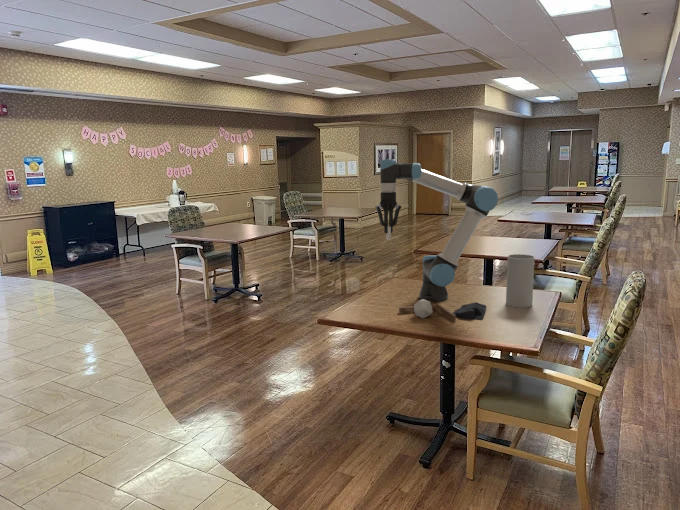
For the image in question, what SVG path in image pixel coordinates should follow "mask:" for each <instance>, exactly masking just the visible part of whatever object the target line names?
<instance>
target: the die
mask: <svg viewBox="0 0 680 510" xmlns="http://www.w3.org/2000/svg"><path fill="white" fill-rule="evenodd" d="M432 305H433V304H432V303H431V301H427V300H425V299H420V300H418V301H416V302H415V303H414V304H413V306H414V312H413V313H414V314H415V315H416V317H419V318H420V319H426V318H427V317H430V316H431V314H433V311H432Z"/></svg>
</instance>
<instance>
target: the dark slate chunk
mask: <svg viewBox="0 0 680 510" xmlns="http://www.w3.org/2000/svg"><path fill="white" fill-rule="evenodd" d="M486 309H487V305H486V304H483V303H479V302H470V303H465V304H462V305H461V306H460V307H459V308H458V309H456V310H454V311H453V312H452V313H453V314H455V315H456V318H458V319H461V320H464V319H465V320H469V321H470V320H471V321H472V320H475V321H477V320H478V321H483V319H484V317H485V314H486V311H487V310H486Z"/></svg>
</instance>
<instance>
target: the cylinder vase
mask: <svg viewBox="0 0 680 510" xmlns="http://www.w3.org/2000/svg"><path fill="white" fill-rule="evenodd" d="M506 266H507V267H506V269H507V270H506V289H505V290H506V291H505V292H506V294H505V305H507V306H508V307H511V308H513V307H514V308H520V309H526V308H530V307H532V306H533V299H534V298H533V296H534V295H533V293H534V274H535V256H534V255H531V254H523V253H522V254H521V253H520V254H519V253H518V254H517V253H516V254H514V253H513V254H508V255H507V265H506Z"/></svg>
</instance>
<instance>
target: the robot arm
mask: <svg viewBox="0 0 680 510" xmlns="http://www.w3.org/2000/svg"><path fill="white" fill-rule="evenodd" d="M379 169H380V172H379V173H380V175H379V176H380V202H379V204H378V205H376V206H375V207H374V208H375V210H376V212H377V215H378V219H379V223H380V226H383V227H384V228H383V229H384V230H383V231H384V234H386V235H385V239H386V241H391V240H392V234H393V229H394V227H395V226H396V225H397V224H398V219H399V214H400V210H401V208H402V205H399V204H398V202H397V192H396V191H397V180H406V181H410V182H412V183H415V184H419V185H421V186H424V187H426V188H430V189H433V190H435V191H437V192H439V193H443V194H446V195H449V196H451V197H454V198H456V200H457V201H459V202H462V203H464V204H465V205H464V208H465V212H464V213H463V215H462V217H461V219H460V221H459V222H458V224H457V226H456V227H455V229H454V230H453V233H452V234H451V236H450V238H449V239H448V242H447V243H446V245H445V247H444V248H443V250H442V252H441V253H437V254H436V255H434V254H432V255H431V254H430V255H424V256H423V258H422V285H421V288H420V291H419V295H418V296H419V297H418V298H419V299H420V300H422V299H425V300H427V301H429V302H443V301H444V302H445V301H447V300H448V299H449V293H448V289H447V286H449V285H451V283H452V282H454V280H455V277H456V273H455V272H456V270H457V268H458V267H459V263H458V261H459V259H460V257H461V255H462V253H464V251H465V248H466V247H467V245H468V244H469V241H470V239H471V238H472V236H473V234H474V233H475V231H476V230H477V228H478V226H479V225H480V222H481V221H482V219H485V218H487V217H488V215H489V213H490V212H491V211H492V210H494V209H495V208H496V206H498V203H499V196H498V193H497V191H496V190H495V188H493V187H490V186H488V185H478V184H471V183H468V182H462V183H461V182H459V181H455V180H453V179H452V178H451V179H450V178H447V177H445V176H443V175H440V174H436V173H434V172H431V171H429V170H426V169H422V165H421V163H419V162H402V163H400V162H399V163H397V160H396V159H382V160H381V161H380V168H379ZM394 209H395V210H394ZM382 210H383V212H382Z"/></svg>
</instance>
